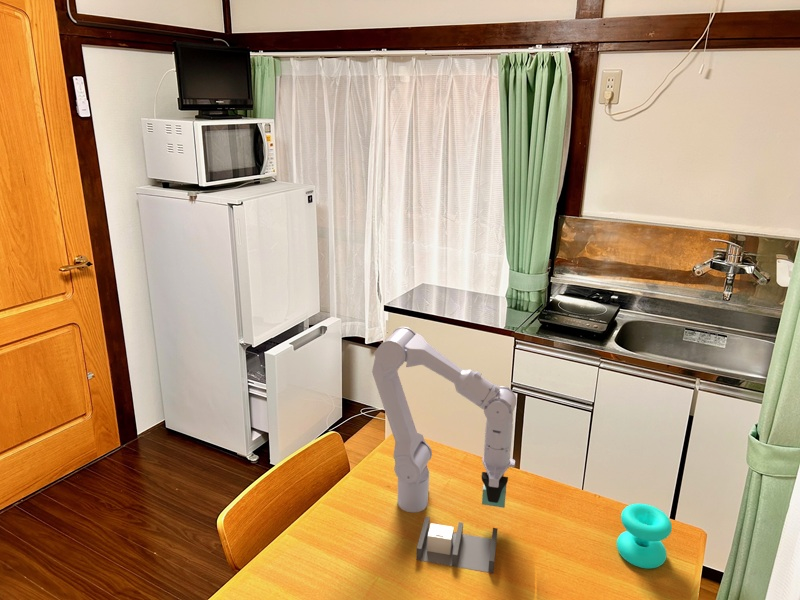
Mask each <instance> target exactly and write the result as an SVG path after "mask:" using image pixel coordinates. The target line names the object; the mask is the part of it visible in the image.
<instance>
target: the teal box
mask: <svg viewBox="0 0 800 600" xmlns="http://www.w3.org/2000/svg"><path fill="white" fill-rule="evenodd" d="M507 485H508V483H507V484H506V485H505V486H504V488H503V489H502V492H501V495H500V498H499V501H498V503H495V502H489V501H488V498H487V492H486V487H485V485H484V484H483V487H482V496H481V506H482V505H484V506H489V507H494V508H495V507H496V508H501V509H502V508H503V509H504V508H505V505H506V496H507Z"/></svg>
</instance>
